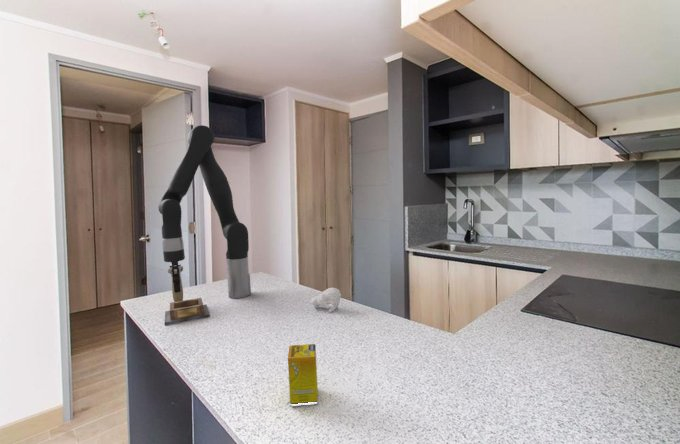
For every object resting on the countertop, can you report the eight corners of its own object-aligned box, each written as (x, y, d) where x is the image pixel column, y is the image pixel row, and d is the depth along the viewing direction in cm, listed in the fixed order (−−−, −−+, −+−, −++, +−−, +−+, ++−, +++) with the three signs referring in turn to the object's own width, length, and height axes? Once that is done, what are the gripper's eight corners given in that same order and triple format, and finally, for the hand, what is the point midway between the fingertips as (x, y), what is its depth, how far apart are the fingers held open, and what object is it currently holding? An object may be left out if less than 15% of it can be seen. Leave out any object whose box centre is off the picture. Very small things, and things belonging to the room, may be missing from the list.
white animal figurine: (334, 290, 121) (306, 290, 126) (337, 313, 122) (309, 312, 127) (341, 285, 127) (314, 286, 132) (344, 307, 128) (316, 307, 132)
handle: (188, 301, 137) (185, 266, 135) (180, 306, 130) (176, 269, 129) (177, 301, 137) (174, 266, 136) (168, 307, 131) (164, 270, 129)
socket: (206, 306, 134) (206, 296, 134) (210, 316, 123) (209, 305, 122) (165, 313, 128) (164, 302, 127) (164, 325, 116) (163, 313, 116)
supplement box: (291, 390, 75) (289, 345, 74) (317, 388, 76) (315, 343, 75) (289, 407, 69) (287, 358, 68) (318, 405, 70) (316, 356, 69)
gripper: (184, 250, 127) (188, 293, 129) (183, 245, 139) (187, 284, 141) (162, 252, 123) (166, 297, 125) (163, 247, 136) (167, 287, 138)
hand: (177, 290), depth 133 cm, fingers closed on handle, 4 cm apart
